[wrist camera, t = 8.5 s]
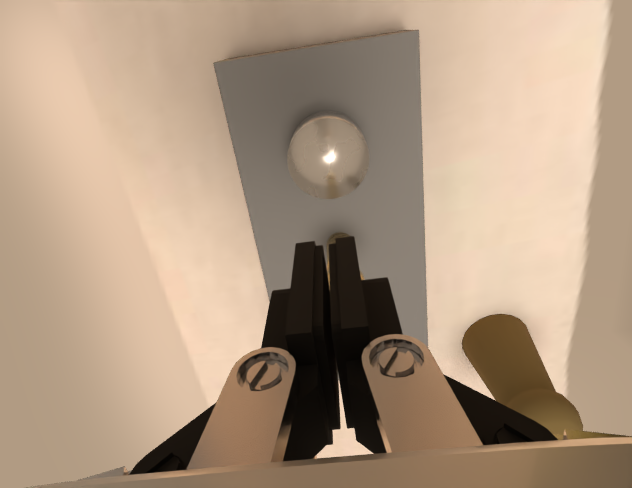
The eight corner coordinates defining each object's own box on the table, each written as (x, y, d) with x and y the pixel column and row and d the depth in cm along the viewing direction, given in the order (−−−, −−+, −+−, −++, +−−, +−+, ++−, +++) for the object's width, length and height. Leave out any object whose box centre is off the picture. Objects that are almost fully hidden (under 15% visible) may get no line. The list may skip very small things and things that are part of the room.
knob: (288, 106, 29) (280, 124, 23) (357, 96, 29) (365, 112, 23) (299, 172, 31) (294, 203, 26) (363, 164, 31) (372, 193, 25)
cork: (457, 365, 40) (501, 472, 30) (466, 314, 37) (518, 414, 28) (521, 364, 40) (585, 472, 30) (534, 313, 37) (610, 414, 27)
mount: (227, 58, 28) (213, 62, 24) (406, 30, 27) (418, 29, 24) (292, 352, 40) (289, 384, 36) (418, 339, 39) (428, 371, 35)
